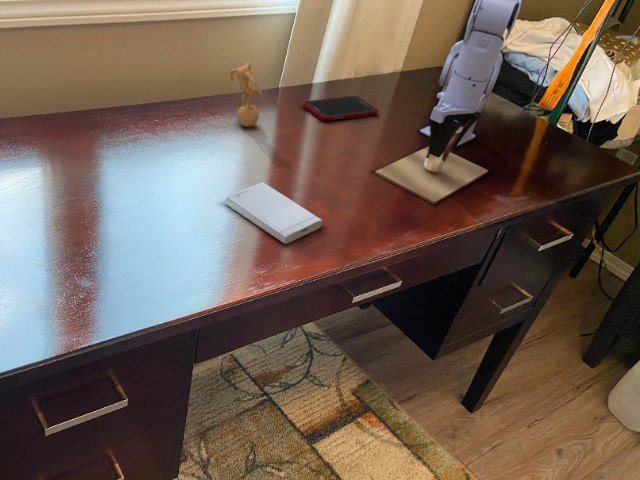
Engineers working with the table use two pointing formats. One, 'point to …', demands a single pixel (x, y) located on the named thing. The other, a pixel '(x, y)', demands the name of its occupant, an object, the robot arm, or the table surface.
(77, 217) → the table surface
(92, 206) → the table surface
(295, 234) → the hard drive
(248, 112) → the figurine
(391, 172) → the desk mat
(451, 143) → the milkshake
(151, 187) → the table surface
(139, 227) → the table surface
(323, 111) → the cell phone
